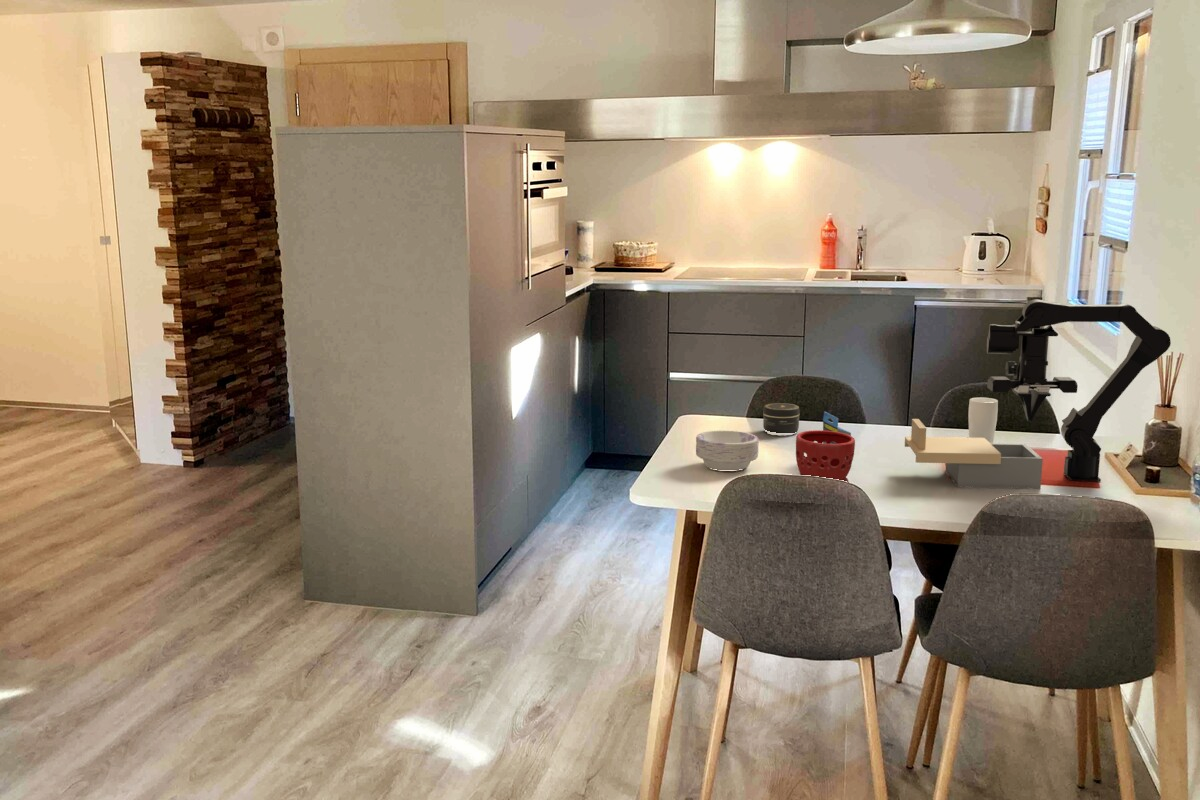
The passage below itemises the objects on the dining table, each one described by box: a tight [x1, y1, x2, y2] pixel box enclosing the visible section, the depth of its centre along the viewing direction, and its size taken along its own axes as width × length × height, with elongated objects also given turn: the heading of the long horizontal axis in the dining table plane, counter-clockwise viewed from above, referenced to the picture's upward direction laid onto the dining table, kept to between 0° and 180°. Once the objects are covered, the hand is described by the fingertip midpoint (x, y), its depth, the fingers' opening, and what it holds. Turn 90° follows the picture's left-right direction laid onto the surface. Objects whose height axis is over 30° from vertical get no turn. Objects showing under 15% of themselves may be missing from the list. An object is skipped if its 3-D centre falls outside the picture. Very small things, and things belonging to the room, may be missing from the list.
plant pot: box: [795, 429, 856, 483], centre depth 240 cm, size 13×13×12 cm
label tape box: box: [822, 411, 852, 460], centre depth 261 cm, size 9×4×12 cm, turn 12°
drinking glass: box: [968, 396, 999, 443], centre depth 263 cm, size 7×7×15 cm
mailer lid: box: [904, 418, 1001, 464], centre depth 244 cm, size 18×16×7 cm
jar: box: [762, 402, 800, 433], centre depth 295 cm, size 10×10×8 cm
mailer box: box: [944, 442, 1043, 490], centre depth 244 cm, size 18×14×7 cm
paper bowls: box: [695, 429, 760, 470], centre depth 258 cm, size 15×15×8 cm
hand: (1029, 420), depth 246 cm, fingers closed
